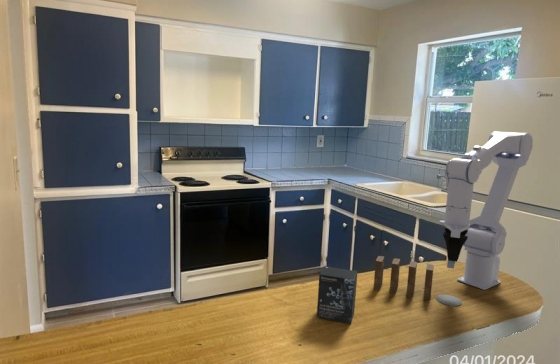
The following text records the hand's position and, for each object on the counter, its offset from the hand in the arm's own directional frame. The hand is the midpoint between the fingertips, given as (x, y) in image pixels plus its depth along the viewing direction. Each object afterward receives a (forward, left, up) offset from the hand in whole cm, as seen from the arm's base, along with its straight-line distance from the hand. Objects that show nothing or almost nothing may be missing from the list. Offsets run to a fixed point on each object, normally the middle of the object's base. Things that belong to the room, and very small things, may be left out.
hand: (452, 257), depth 103 cm
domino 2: (+10, -10, -10) cm, 17 cm away
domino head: (0, 0, -2) cm, 2 cm away
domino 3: (+8, -6, -10) cm, 14 cm away
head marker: (+3, +2, -10) cm, 11 cm away
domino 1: (+12, -14, -10) cm, 21 cm away
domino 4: (+6, -3, -10) cm, 12 cm away
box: (+33, -8, -10) cm, 36 cm away
